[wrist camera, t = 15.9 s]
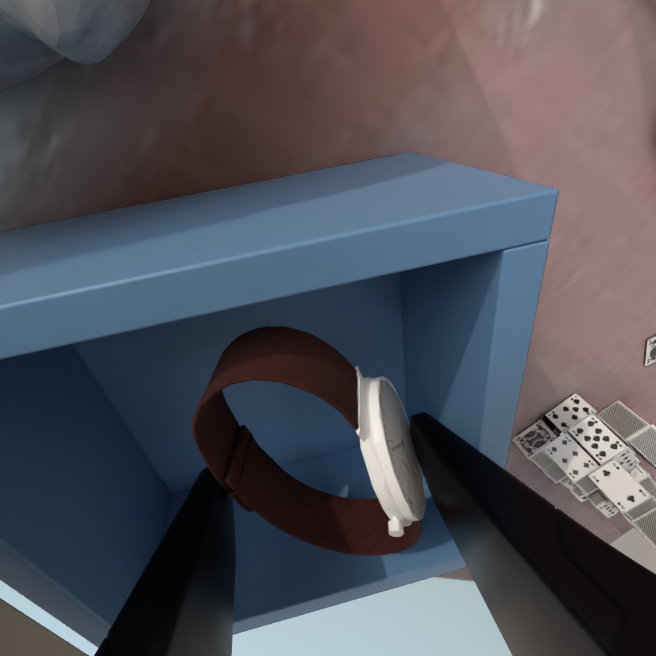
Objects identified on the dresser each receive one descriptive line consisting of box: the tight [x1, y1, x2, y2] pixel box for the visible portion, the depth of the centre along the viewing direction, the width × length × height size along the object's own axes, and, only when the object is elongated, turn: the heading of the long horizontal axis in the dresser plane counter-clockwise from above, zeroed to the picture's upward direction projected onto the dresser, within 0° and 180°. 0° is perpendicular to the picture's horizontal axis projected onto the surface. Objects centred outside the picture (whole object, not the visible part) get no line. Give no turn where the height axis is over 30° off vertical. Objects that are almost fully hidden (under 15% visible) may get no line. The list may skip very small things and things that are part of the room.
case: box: [0, 152, 558, 648], centre depth 10 cm, size 12×12×6 cm
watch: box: [192, 326, 426, 556], centre depth 8 cm, size 8×5×4 cm, turn 26°
